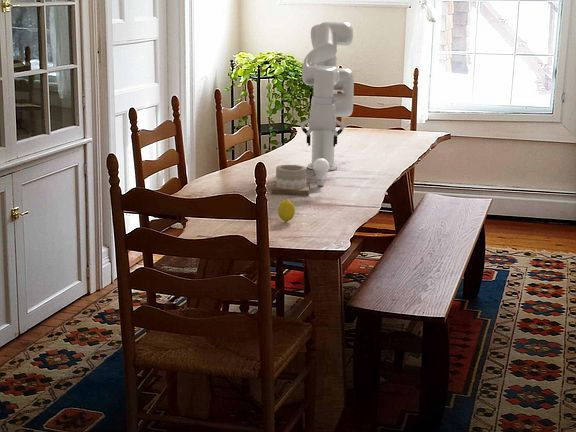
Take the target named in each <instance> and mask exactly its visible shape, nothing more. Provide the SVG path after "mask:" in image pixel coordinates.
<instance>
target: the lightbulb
mask: <svg viewBox="0 0 576 432" xmlns="http://www.w3.org/2000/svg"><path fill="white" fill-rule="evenodd" d="M328 170H329V163H328V161H327V160H326V159H323V158H319V159H317V160H315V162H314V163H313V170H312V171H314V173H315V175H316V180H317V181H316V184H317V186H318V187H322V186H324V185H325V177H326V175H327V174H328V173H329V172H328ZM329 171H330V170H329Z"/></svg>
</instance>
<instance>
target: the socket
mask: <svg viewBox="0 0 576 432" xmlns="http://www.w3.org/2000/svg"><path fill="white" fill-rule="evenodd" d="M310 185H311V182H307V167H306V166H304V165H300V164H281V165H277V166H276V168H275V180H273V183H272V186H271V188H270V195H271V196H295V197H296V196H297V197H309V196H310V189H311V186H310Z"/></svg>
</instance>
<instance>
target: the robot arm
mask: <svg viewBox="0 0 576 432" xmlns="http://www.w3.org/2000/svg"><path fill="white" fill-rule="evenodd" d="M310 39H311V40H310V41H311V45H312V48H313V49H312V50H310V51H309V52H308V53H307V54H306V55H305V56H304V57H305V58H304V59H303V61H302V62H303V64H302V72H301V78H302V79H301V80H302V82H303V83H304V84H305V85H306V86H313V96H312V97H311V100H310V110H309V118H308V119H305V120H304V121H302V122H300V123H299V126H300V128H301V130H302V131H303V133H304V135H306V144H307V145H308V146H307V147H310V146H311V162H309V163H308V164H307V168H308V169H310V170H312V171H314V170H313V163H314V162H315V160H317V159H319V158H323V159H326V160H327V161H328V163H329V170H328V171H329V172H330V171H336V170H337V169H338V164H336V163H335V147H336V145H338V136H339V135H341V134H342V133H343V131H344V130H345V127H346V124H344V123H343V122H341V121H339V120H338V119H337V117H338V118H341V117H343V118H347V117H350V116H351V115H353V111H354V95H355V94H354V91H355V90H354V88H355V87H354V86H355V77H354V74H353V73H354V72H353V71H352V70H351V69H349V68H344V67H343V68H341V67H337V62H338V61H337V60H338V59H337V55H336V54H337V52H338V51H337V50H338V49H337V47H338V46H350V45H351V44H352V42H353V39H354V30H353V26H352V24H351V23H350V22H345V21H344V22H342V21H341V22H340V21H325V22H324V21H323V22H321V23H320V24H315V25H313V26H312V27H311V30H310ZM335 92H341V93H335ZM307 124H308V127H309V129H307V128H306V127H305V125H307ZM337 126H340V127H339V130H336V128H337ZM311 134H312V135H311Z"/></svg>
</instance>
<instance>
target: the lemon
mask: <svg viewBox="0 0 576 432" xmlns="http://www.w3.org/2000/svg"><path fill="white" fill-rule="evenodd" d="M295 211H296V210H295V204H294V203H293V202H292V201H291V200H289V199H288V198H287V199H286V198H285V199H284V200H282V201H281V202H280V203H279V205H278V209H277V214H278V217H279V218H280V220H281V221H283V222H284V223H288V222H289V221H291V220H292V219H294V216H295V213H296V212H295Z"/></svg>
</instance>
